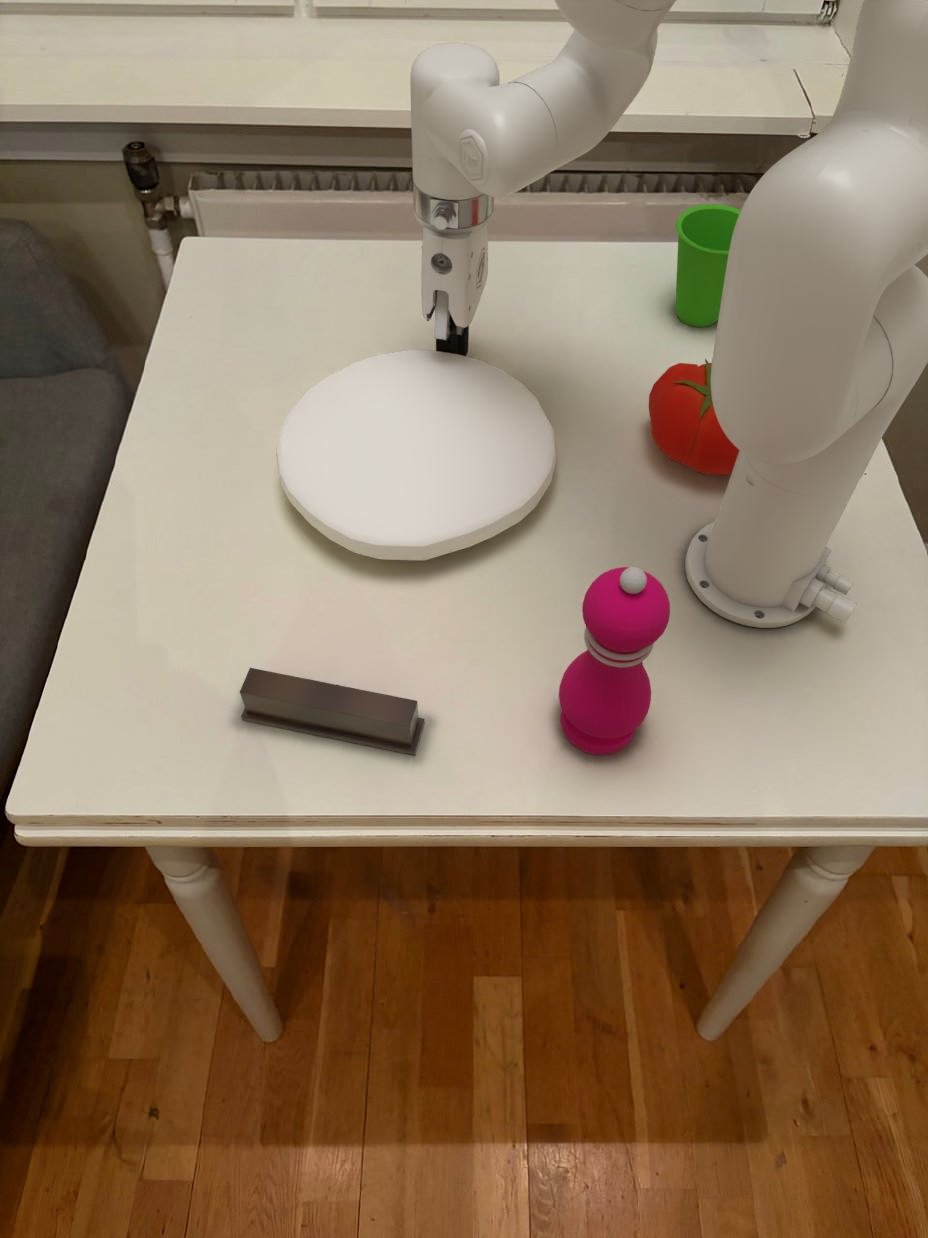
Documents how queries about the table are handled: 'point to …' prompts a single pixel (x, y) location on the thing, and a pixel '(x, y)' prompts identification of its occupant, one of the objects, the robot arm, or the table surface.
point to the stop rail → (331, 711)
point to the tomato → (690, 420)
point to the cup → (703, 261)
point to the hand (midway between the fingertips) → (452, 355)
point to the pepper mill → (613, 660)
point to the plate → (415, 454)
